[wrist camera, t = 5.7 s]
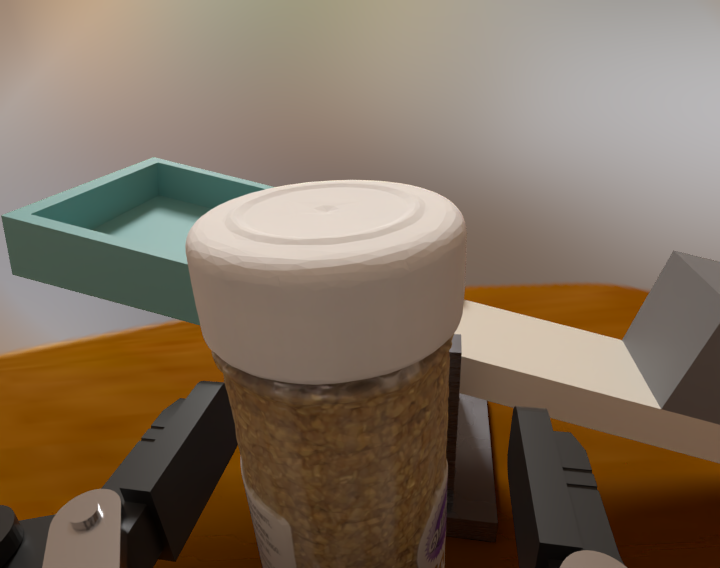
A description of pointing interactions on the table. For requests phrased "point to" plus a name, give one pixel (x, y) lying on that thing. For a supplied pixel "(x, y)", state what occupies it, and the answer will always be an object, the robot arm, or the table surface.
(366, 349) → the sprinkles bottle
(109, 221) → the beam
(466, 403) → the pivot stand
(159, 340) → the table surface
